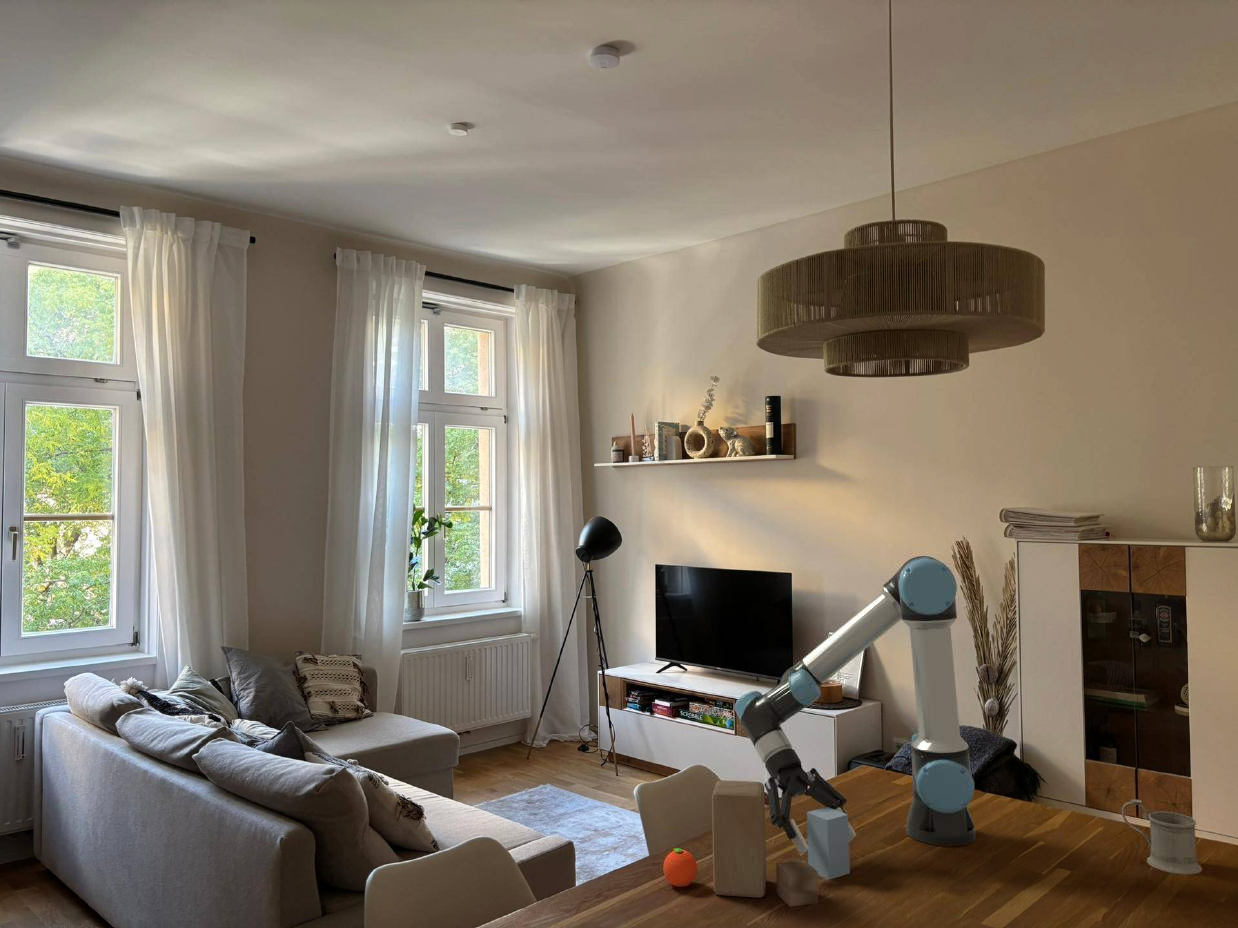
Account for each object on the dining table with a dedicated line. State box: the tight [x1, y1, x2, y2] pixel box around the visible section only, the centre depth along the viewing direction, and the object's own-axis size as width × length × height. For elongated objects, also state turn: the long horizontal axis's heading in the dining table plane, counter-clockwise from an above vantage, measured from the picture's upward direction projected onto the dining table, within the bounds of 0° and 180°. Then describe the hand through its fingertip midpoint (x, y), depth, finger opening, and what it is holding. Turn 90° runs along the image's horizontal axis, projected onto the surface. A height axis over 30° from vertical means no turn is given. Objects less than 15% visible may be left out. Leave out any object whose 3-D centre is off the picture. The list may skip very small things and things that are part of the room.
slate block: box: [806, 807, 851, 881], centre depth 190 cm, size 6×6×12 cm
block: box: [711, 779, 767, 899], centre depth 182 cm, size 10×10×20 cm
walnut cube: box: [775, 859, 819, 907], centre depth 177 cm, size 6×6×6 cm
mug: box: [1121, 799, 1203, 875], centre depth 192 cm, size 14×10×12 cm
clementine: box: [662, 847, 698, 888], centre depth 184 cm, size 8×7×7 cm
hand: (829, 845), depth 189 cm, fingers open, 13 cm apart
